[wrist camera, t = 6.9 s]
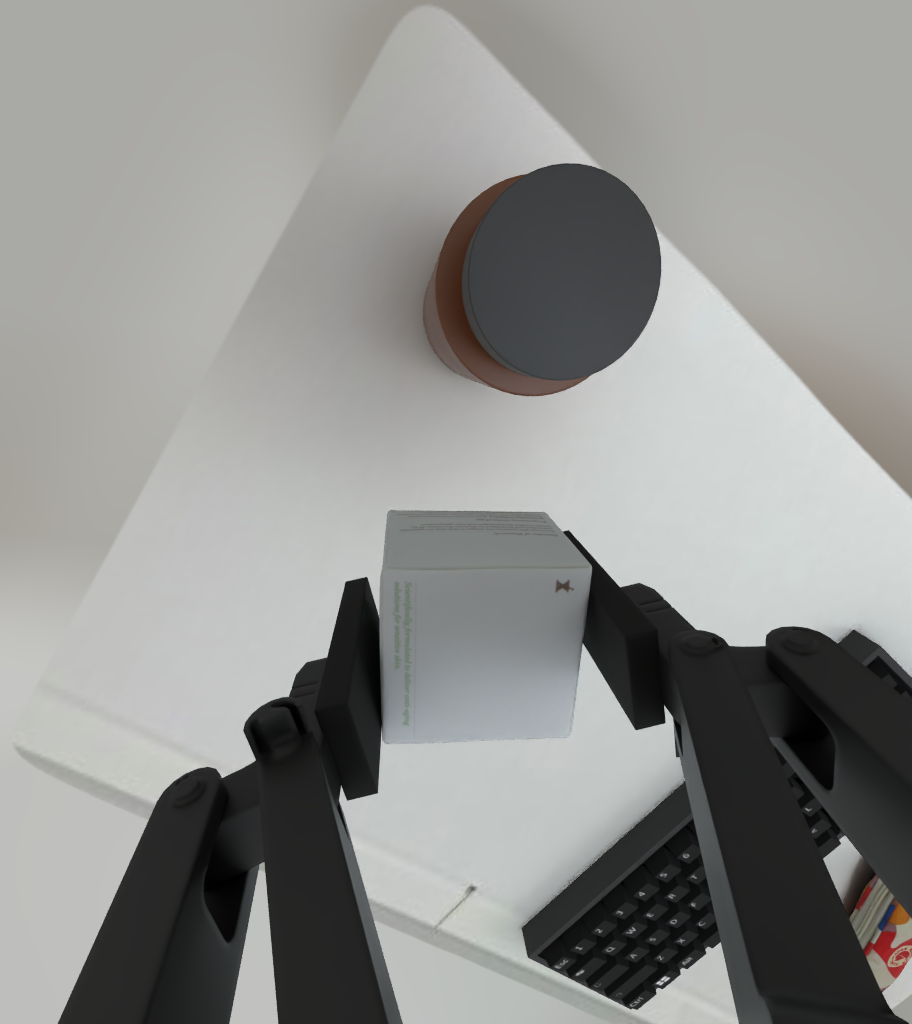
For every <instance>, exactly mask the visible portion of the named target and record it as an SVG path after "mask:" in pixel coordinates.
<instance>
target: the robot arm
mask: <svg viewBox="0 0 912 1024" xmlns="http://www.w3.org/2000/svg"><path fill="white" fill-rule="evenodd" d="M563 533H564V534H565V535H566V537H567V538H568V539H569V540H570V541H571V542H572V543H573V545H574V546H575V547H576V548H577V549H578V550H579V551H580V553H581V554H582V555H583V556H584V557H585V558H586V560H587V561H588V562H589V563H590V564H591V566H592V575H591V582H590V591H589V599H588V608H587V615H586V623H585V630H584V637H583V644H584V645H585V647H586V649H587V650H588V652H589V654H590V655H591V657H592V659H593V660H594V662H595V663H596V665H597V667H598V668H599V670H600V672H601V673H602V675H603V677H604V678H605V680H606V682H607V683H608V685H609V687H610V688H611V690H612V692H613V693H614V695H615V697H616V698H617V700H618V702H619V703H620V705H621V707H622V708H623V710H624V711H625V713H626V715H627V716H628V718H629V720H630V721H631V723H632V725H633V726H634V728H635V730H639V729H643V728H647V727H651V726H655V725H660V724H664V723H665V712H664V705H665V707H666V708H667V709H668V711H669V712H670V713H671V715H672V716H673V721H674V734H675V748H676V757H680V760H681V765H682V769H683V774H684V778H685V783H686V787H687V792H688V796H689V801H690V805H691V810H692V814H693V819H694V823H695V828H696V832H697V837H698V841H699V846H700V850H701V854H702V859H703V863H704V868H705V872H706V877H707V881H708V886H709V890H710V895H711V899H712V904H713V908H714V913H715V917H716V922H717V926H718V931H719V935H720V940H721V944H722V949H723V953H724V958H725V962H726V967H727V971H728V976H729V980H730V985H731V989H732V994H733V998H734V1003H735V1007H736V1012H737V1016H738V1021H739V1024H909V1023H908V1022H906V1021H905V1020H903V1019H901V1018H899V1017H898V1016H896V1015H895V1014H894V1013H893V1012H892V1010H891V1009H890V1007H889V1006H888V1004H887V1002H886V1000H885V998H884V996H883V994H882V992H881V990H880V987H879V985H878V983H877V981H876V978H875V976H874V974H873V972H872V969H871V967H870V965H869V963H868V960H867V958H866V956H865V953H864V951H863V949H862V947H861V944H860V942H859V940H858V938H857V935H856V933H855V931H854V929H853V926H852V924H851V922H850V919H849V917H848V915H847V913H846V910H845V908H844V906H843V904H842V901H841V899H840V897H839V895H838V892H837V890H836V888H835V885H834V883H833V881H832V879H831V876H830V874H829V872H828V870H827V867H826V865H825V863H824V861H823V858H822V856H821V854H820V851H819V849H818V847H817V845H816V842H815V840H814V838H813V836H812V833H811V831H810V829H809V827H808V824H807V822H806V820H805V817H804V815H803V813H802V811H801V808H800V806H799V804H798V802H797V799H796V797H795V795H794V793H793V790H792V788H791V786H790V783H789V781H788V779H787V777H786V774H785V772H784V770H783V768H782V765H781V763H780V761H779V759H778V756H777V754H776V752H775V749H774V747H773V745H772V743H773V744H774V745H775V747H776V748H777V749H778V750H779V752H780V753H781V754H782V756H783V757H784V758H785V759H786V761H787V762H788V763H789V764H790V766H791V767H792V768H793V769H794V771H795V772H796V773H797V774H798V776H799V777H800V778H801V780H802V781H803V782H804V783H805V785H806V786H807V787H808V788H809V790H810V791H811V792H812V793H813V795H814V796H815V797H816V799H817V800H818V801H819V802H820V804H821V805H822V806H823V807H824V809H825V810H826V811H827V812H828V814H829V815H830V816H831V817H832V819H833V820H834V821H835V823H836V824H837V825H838V826H839V828H840V829H841V830H842V831H843V833H844V834H845V835H846V836H847V838H848V839H849V840H850V842H851V843H852V844H853V845H854V847H855V848H856V849H857V850H858V852H859V853H860V854H861V855H862V857H863V858H864V859H865V860H866V862H867V863H868V864H869V866H870V867H871V868H872V869H873V871H874V872H875V873H876V874H877V876H878V877H879V878H880V879H881V881H882V882H883V883H884V885H885V886H886V887H887V888H888V890H889V891H890V892H891V893H892V895H893V896H894V897H895V898H896V900H897V901H898V902H899V903H900V905H901V906H902V907H903V909H904V910H905V911H906V912H907V914H908V915H909V916H910V917H911V919H912V703H911V702H910V701H908V700H907V699H906V698H905V697H903V696H902V695H901V694H900V693H898V692H897V691H896V690H895V689H893V688H892V687H891V686H890V685H888V684H887V683H886V682H885V681H883V680H882V679H881V678H880V677H878V676H877V675H876V674H875V673H873V672H872V671H871V670H869V669H868V668H867V667H866V666H864V665H863V664H862V663H861V662H859V661H858V660H857V659H856V658H854V657H853V656H852V655H851V654H849V653H848V652H847V651H846V650H844V649H843V648H842V647H841V646H839V645H838V644H837V643H836V642H834V641H833V640H832V639H831V638H829V637H827V636H826V635H824V634H822V633H820V632H818V631H815V630H811V629H808V628H803V627H794V626H793V627H781V628H778V629H774V630H772V631H771V632H770V633H768V634H767V635H766V646H758V647H735V646H729V645H728V644H727V643H726V641H725V640H724V639H723V638H721V637H719V636H718V635H716V634H714V633H710V632H707V631H701V630H696V629H695V628H694V627H693V626H692V625H690V624H689V623H688V622H687V621H686V620H685V619H684V618H683V617H682V616H681V615H680V614H679V613H678V612H677V611H676V610H675V609H674V608H672V607H671V605H670V604H669V603H668V602H667V601H666V600H664V598H663V597H662V596H661V595H660V594H659V593H657V592H656V591H655V590H654V589H652V588H650V587H648V586H645V585H643V584H641V583H637V584H633V585H629V586H625V587H619V586H618V585H617V584H616V583H615V581H614V580H613V579H612V578H611V577H610V576H609V575H608V574H607V572H606V571H605V570H604V569H603V568H602V567H601V566H600V565H599V564H598V562H597V561H596V560H595V559H594V558H593V557H592V556H591V555H590V554H589V552H588V551H587V550H586V549H585V548H584V547H583V546H582V545H581V543H580V542H579V541H578V540H577V539H576V538H575V537H574V536H573V535H572V533H571V532H570V531H569V530H568V531H564V532H563ZM381 728H382V718H381V684H380V619H379V616H378V612H377V609H376V605H375V602H374V599H373V595H372V592H371V588H370V585H369V581H368V578H367V577H365V578H360V579H356V580H352V581H347V582H346V583H345V587H344V592H343V596H342V600H341V604H340V608H339V612H338V616H337V620H336V624H335V628H334V632H333V636H332V640H331V645H330V649H329V653H328V657H327V658H323V659H319V660H315V661H311V662H307V663H306V664H305V665H304V666H303V667H302V668H301V670H300V671H299V672H298V673H297V674H296V677H295V680H294V683H293V686H292V690H291V692H290V695H289V697H282V698H279V699H276V700H273V701H270V702H268V703H266V704H265V705H263V706H261V707H260V708H258V709H257V710H256V711H255V712H254V713H252V714H251V716H250V717H249V718H248V720H247V721H246V722H245V726H244V730H243V731H244V733H245V735H246V738H247V740H248V742H249V745H250V747H251V749H252V752H253V754H254V756H255V758H256V761H255V762H253V763H252V764H250V765H248V766H246V767H244V768H243V769H240V770H238V771H236V772H234V773H232V774H230V775H228V776H226V777H224V778H221V776H220V774H219V772H218V771H217V770H216V769H214V768H210V767H205V768H199V769H196V770H193V771H191V772H189V773H186V774H185V775H183V776H181V777H180V778H178V779H177V780H176V781H174V782H173V783H172V784H171V785H170V786H169V787H168V788H167V789H166V790H165V791H164V792H163V793H162V795H161V797H160V798H159V800H158V801H157V803H156V805H155V808H154V810H153V812H152V814H151V817H150V819H149V821H148V823H147V826H146V828H145V830H144V833H143V834H142V837H141V839H140V841H139V844H138V846H137V848H136V850H135V852H134V855H133V857H132V859H131V861H130V863H129V866H128V868H127V870H126V873H125V875H124V877H123V879H122V881H121V884H120V886H119V888H118V890H117V893H116V895H115V897H114V899H113V902H112V904H111V906H110V908H109V910H108V913H107V915H106V917H105V919H104V922H103V924H102V926H101V928H100V930H99V933H98V935H97V937H96V939H95V942H94V944H93V946H92V949H91V951H90V953H89V955H88V957H87V960H86V962H85V964H84V966H83V969H82V971H81V973H80V975H79V977H78V980H77V982H76V984H75V986H74V989H73V991H72V993H71V995H70V998H69V1000H68V1002H67V1004H66V1007H65V1009H64V1011H63V1013H62V1015H61V1018H60V1020H59V1022H58V1024H229V1022H230V1017H231V1011H232V1006H233V1000H234V995H235V990H236V985H237V980H238V975H239V969H240V964H241V959H242V954H243V948H244V943H245V938H246V932H247V927H248V922H249V917H250V912H251V906H252V901H253V896H254V890H255V885H256V879H257V874H258V870H259V864H261V863H262V862H264V861H265V873H266V883H267V895H268V907H269V919H270V930H271V942H272V954H273V965H274V977H275V989H276V1000H277V1012H278V1023H279V1024H403V1023H402V1020H401V1016H400V1013H399V1009H398V1005H397V1002H396V999H395V995H394V991H393V988H392V984H391V981H390V977H389V973H388V970H387V966H386V963H385V959H384V956H383V952H382V948H381V945H380V941H379V938H378V934H377V931H376V927H375V924H374V920H373V916H372V913H371V909H370V906H369V902H368V899H367V895H366V891H365V888H364V884H363V881H362V877H361V874H360V870H359V867H358V863H357V859H356V856H355V852H354V849H353V845H352V842H351V838H350V835H349V831H348V827H347V824H346V820H345V817H344V813H343V811H342V808H341V805H340V803H339V796H340V789H341V785H342V788H343V791H344V793H345V796H346V799H347V801H348V800H352V799H356V798H360V797H364V796H368V795H372V794H376V793H378V780H379V762H380V745H381ZM771 742H772V743H771Z"/></svg>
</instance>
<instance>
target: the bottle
mask: <svg viewBox="0 0 912 1024" xmlns="http://www.w3.org/2000/svg"><path fill="white" fill-rule="evenodd" d="M660 278H661V254H660V246H659V241H658V237H657V233H656V230H655V227H654V225H653V222H652V220H651V217H650V215H649V214H648V212H647V210H646V208H645V206H644V205H643V204H642V202H641V201H640V199H639V198H638V197H637V195H636V194H635V193H634V192H633V191H632V190H631V189H630V188H629V187H628V186H627V185H626V184H624V183H623V182H622V181H620V180H619V179H618V178H616V177H615V176H613V175H611V174H609V173H607V172H606V171H604V170H601V169H598V168H595V167H592V166H588V165H582V164H567V163H565V164H557V165H551V166H547V167H544V168H540V169H537V170H535V171H533V172H531V173H529V174H525V175H519V176H516V177H512V178H509V179H506V180H504V181H502V182H499V183H497V184H495V185H493V186H492V187H490V188H489V189H487V190H485V191H484V192H482V193H481V194H480V195H479V196H477V197H476V198H475V199H474V200H473V201H472V202H471V203H470V204H469V205H468V206H467V207H466V208H465V209H464V210H463V212H462V213H461V214H460V215H459V217H458V218H457V220H456V221H455V223H454V224H453V226H452V227H451V229H450V231H449V233H448V235H447V237H446V239H445V242H444V244H443V247H442V249H441V252H440V255H439V257H438V260H437V262H436V265H435V268H434V270H433V273H432V275H431V278H430V281H429V283H428V286H427V289H426V293H425V297H424V304H423V320H424V326H425V331H426V334H427V337H428V340H429V342H430V345H431V346H432V348H433V350H434V352H435V353H436V354H437V356H438V357H439V358H440V360H441V361H442V362H443V363H444V364H445V365H446V366H447V367H449V368H450V369H451V370H452V371H454V372H456V373H457V374H459V375H461V376H463V377H466V378H468V379H471V380H473V381H476V382H479V383H481V384H484V385H487V386H489V387H492V388H495V389H497V390H500V391H503V392H507V393H510V394H514V395H522V396H543V395H549V394H554V393H557V392H561V391H564V390H566V389H568V388H571V387H573V386H575V385H577V384H579V383H580V382H582V381H584V380H585V379H587V378H588V377H589V376H591V375H592V374H594V373H596V372H599V371H601V370H603V369H604V368H606V367H607V366H609V365H611V364H612V363H614V362H615V361H616V360H617V359H619V358H620V357H621V356H622V355H623V354H624V353H625V352H626V351H627V350H628V349H629V348H630V347H631V346H632V345H633V344H634V342H635V341H636V340H637V339H638V337H639V336H640V334H641V333H642V331H643V329H644V328H645V326H646V325H647V322H648V320H649V318H650V316H651V314H652V312H653V309H654V306H655V303H656V300H657V296H658V291H659V287H660Z"/></svg>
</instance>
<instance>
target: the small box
mask: <svg viewBox="0 0 912 1024" xmlns="http://www.w3.org/2000/svg"><path fill="white" fill-rule="evenodd" d="M591 575H592V566H591V564H590V563H589V562H588V561H587V560H586V558H585V557H584V556H583V555H582V554H581V553H580V551H579V550H578V549H577V548H576V547H575V546H574V545H573V543H572V542H571V541H570V540H569V539H568V538H567V537H566V535H565V534H564V533H563V532H562V531H561V530H560V528H559V527H558V526H557V525H556V524H555V523H554V522H553V520H552V519H551V518H550V517H549V516H548V514H547V513H545V512H489V511H396V510H390V511H389V512H388V514H387V524H386V533H385V545H384V556H383V566H382V571H381V577H380V610H379V618H380V684H381V718H382V739H383V742H384V743H386V744H424V743H429V744H430V743H447V742H464V741H484V740H513V739H542V738H567V737H568V736H569V735H570V732H571V729H572V722H573V714H574V708H575V701H576V692H577V684H578V675H579V667H580V658H581V651H582V644H583V637H584V630H585V623H586V615H587V608H588V599H589V591H590V582H591Z"/></svg>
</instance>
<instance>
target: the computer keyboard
mask: <svg viewBox="0 0 912 1024" xmlns="http://www.w3.org/2000/svg"><path fill="white" fill-rule="evenodd" d="M838 645H839V646H841V647H842V648H843V649H844V650H846V651H847V652H848V653H849V654H851V655H852V656H853V657H854V658H856V659H857V660H858V661H859V662H861V663H862V664H863V665H864V666H866V667H867V668H868V669H869V670H871V671H872V672H873V673H875V674H876V675H877V676H878V677H880V678H881V679H882V680H883V681H885V682H886V683H887V684H888V685H890V686H891V687H892V688H893V689H895V690H896V691H897V692H898V693H900V694H901V695H902V696H903V697H905V698H906V699H907V700H908V701H910V702H911V703H912V678H911V677H910V676H909V675H908V674H907V673H906V672H905V671H904V670H903V669H902V667H901V666H900V665H899V664H898V663H897V662H896V661H895V660H894V659H893V658H892V657H891V656H890V655H889V654H888V653H887V652H886V651H885V650H884V649H883V648H882V647H881V646H879V645H878V644H876V643H874V642H873V641H871V640H870V639H868V638H866V637H865V636H863V635H861V634H860V633H858V632H856V631H855V630H853V631H852V632H851V633H850V634H849V635H848V636H847V637H846V638H844V639H843V640H842V641H841V642H840V643H839V644H838ZM771 743H772V742H771ZM772 745H773V747H774V749H775V752H776V754H777V756H778V759H779V761H780V763H781V765H782V768H783V770H784V772H785V774H786V777H787V779H788V781H789V783H790V786H791V788H792V790H793V793H794V795H795V797H796V799H797V802H798V804H799V806H800V808H801V811H802V813H803V815H804V817H805V820H806V822H807V824H808V827H809V829H810V831H811V833H812V836H813V838H814V840H815V842H816V845H817V847H818V849H819V851H820V854H821V856H822V858H824V857H825V856H827V855H828V854H829V853H830V852H832V851H833V850H834V849H835V848H836V847H838V846H839V845H840V844H841V843H840V841H839V839H841V838H842V837H843V836H844V835H845V834H844V833H843V831H842V830H841V829H840V828H839V826H838V825H837V824H836V823H835V821H834V820H833V819H832V817H831V816H830V815H829V814H828V812H827V811H826V810H825V809H824V807H823V806H822V805H821V804H820V802H819V801H818V800H817V799H816V797H815V796H814V795H813V793H812V792H811V791H810V790H809V788H808V787H807V786H806V785H805V783H804V782H803V781H802V780H801V778H800V777H799V776H798V774H797V773H796V772H795V771H794V769H793V768H792V767H791V766H790V764H789V763H788V762H787V761H786V759H785V758H784V757H783V756H782V754H781V753H780V752H779V750H778V749H777V748H776V747H775V745H774V744H773V743H772ZM845 836H846V835H845ZM522 931H523V936H524V941H525V946H526V951H527V955H528V958H530V959H532V960H534V961H536V962H538V963H540V964H542V965H544V966H546V967H548V968H550V969H552V970H554V971H556V972H558V973H560V974H562V975H564V976H566V977H568V978H570V979H572V980H574V981H576V982H578V983H580V984H582V985H584V986H586V987H588V988H590V989H592V990H594V991H596V992H598V993H599V994H601V995H603V996H605V997H607V998H609V999H611V1000H613V1001H615V1002H617V1003H619V1004H621V1005H623V1006H625V1007H627V1008H629V1009H632V1008H633V1009H636V1010H638V1009H639V1008H640V1007H641V1006H642V1005H644V1004H645V1003H646V1002H647V1001H649V1000H650V999H651V998H652V997H654V996H655V995H656V989H657V988H661V989H663V988H665V987H666V986H667V985H668V984H670V983H671V982H672V981H673V980H674V979H676V978H677V977H678V976H679V975H681V974H680V969H681V968H685V969H688V968H689V967H690V966H692V965H693V964H694V963H695V962H697V961H698V960H699V959H700V958H701V957H703V956H704V955H705V954H706V951H705V949H706V948H707V947H711V948H714V947H715V946H716V945H717V944H719V943H720V942H721V940H720V935H719V931H718V926H717V922H716V917H715V913H714V908H713V904H712V899H711V895H710V890H709V886H708V881H707V877H706V872H705V868H704V863H703V859H702V854H701V850H700V846H699V841H698V837H697V832H696V828H695V823H694V819H693V814H692V810H691V805H690V801H689V796H688V792H687V787H686V783H685V782H684V783H683V784H682V785H681V786H680V787H679V788H678V789H676V790H675V791H674V792H673V793H672V794H671V795H670V796H669V797H668V798H666V799H665V800H664V801H663V802H662V803H661V804H660V805H659V806H658V807H656V808H655V809H654V810H653V811H652V812H651V813H650V814H649V815H648V816H646V817H645V818H644V819H643V820H642V821H641V822H640V823H639V824H638V825H636V826H635V827H634V828H633V829H632V830H631V831H630V832H629V833H628V834H626V835H625V836H624V837H623V838H622V839H621V840H620V841H619V842H618V843H616V844H615V845H614V846H613V847H612V848H611V849H610V850H609V851H608V852H606V853H605V854H604V855H603V856H602V857H601V858H600V859H599V860H598V861H596V862H595V863H594V864H593V865H592V866H591V867H590V868H589V869H587V870H586V871H585V872H584V873H583V874H582V875H581V876H580V877H579V878H577V879H576V880H575V881H574V882H573V883H572V884H571V885H570V886H569V887H567V888H566V889H565V890H564V891H563V892H562V893H561V894H560V895H559V896H557V897H556V898H555V899H554V900H553V901H552V902H551V903H550V904H549V905H547V906H546V907H545V908H544V909H543V910H542V911H541V912H540V913H539V914H537V915H536V916H535V917H534V918H533V919H532V920H531V921H530V922H529V923H527V924H526V925H525V926H524V927H523V928H522Z"/></svg>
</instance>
